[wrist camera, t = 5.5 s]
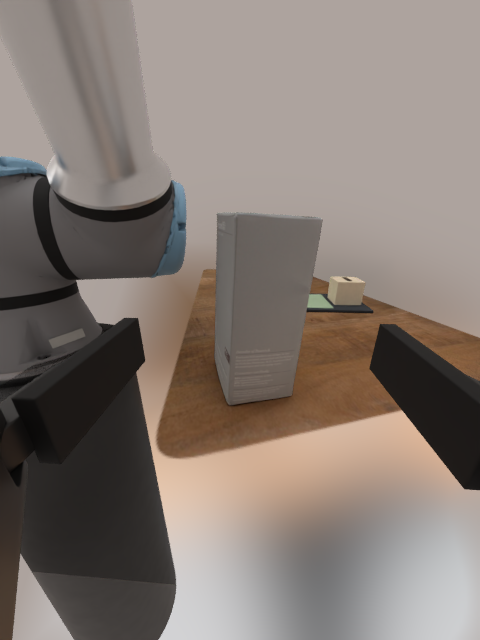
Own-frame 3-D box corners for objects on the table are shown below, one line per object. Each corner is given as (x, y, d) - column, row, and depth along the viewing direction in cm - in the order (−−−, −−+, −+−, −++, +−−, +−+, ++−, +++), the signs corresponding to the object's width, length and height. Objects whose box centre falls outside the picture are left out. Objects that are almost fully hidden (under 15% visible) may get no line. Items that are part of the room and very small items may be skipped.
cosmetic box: (213, 360, 28) (206, 212, 22) (270, 353, 29) (278, 213, 23) (227, 411, 20) (221, 206, 14) (303, 398, 22) (327, 208, 16)
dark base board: (251, 310, 44) (252, 284, 42) (252, 294, 54) (252, 272, 52) (373, 312, 43) (379, 285, 41) (350, 295, 53) (354, 273, 51)
